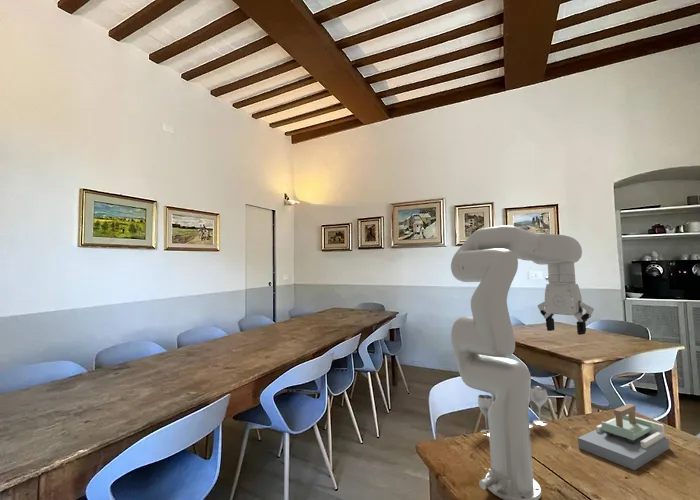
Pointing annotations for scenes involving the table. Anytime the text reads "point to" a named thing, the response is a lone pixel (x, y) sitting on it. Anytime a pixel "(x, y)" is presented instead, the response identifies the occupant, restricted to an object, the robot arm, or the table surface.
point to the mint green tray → (627, 424)
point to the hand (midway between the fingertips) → (565, 332)
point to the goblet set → (535, 395)
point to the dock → (626, 446)
